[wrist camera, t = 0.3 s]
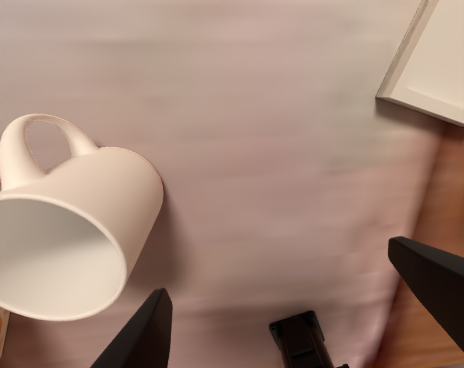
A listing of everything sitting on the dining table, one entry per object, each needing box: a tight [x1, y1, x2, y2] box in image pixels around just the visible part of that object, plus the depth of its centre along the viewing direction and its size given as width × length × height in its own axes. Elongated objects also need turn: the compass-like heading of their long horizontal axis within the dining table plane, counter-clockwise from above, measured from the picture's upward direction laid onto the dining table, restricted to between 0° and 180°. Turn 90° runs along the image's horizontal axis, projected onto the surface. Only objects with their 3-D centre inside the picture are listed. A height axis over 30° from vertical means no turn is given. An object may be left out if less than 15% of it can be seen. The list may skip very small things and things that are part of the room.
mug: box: [0, 114, 164, 321], centre depth 16 cm, size 9×12×11 cm
